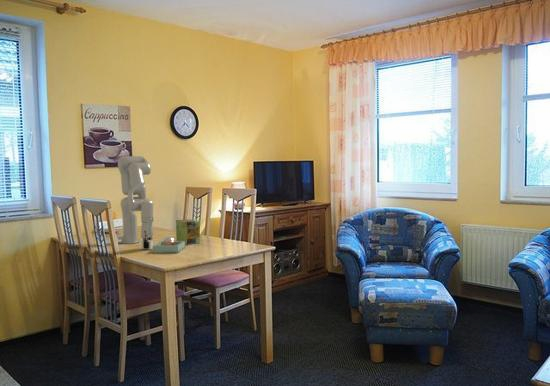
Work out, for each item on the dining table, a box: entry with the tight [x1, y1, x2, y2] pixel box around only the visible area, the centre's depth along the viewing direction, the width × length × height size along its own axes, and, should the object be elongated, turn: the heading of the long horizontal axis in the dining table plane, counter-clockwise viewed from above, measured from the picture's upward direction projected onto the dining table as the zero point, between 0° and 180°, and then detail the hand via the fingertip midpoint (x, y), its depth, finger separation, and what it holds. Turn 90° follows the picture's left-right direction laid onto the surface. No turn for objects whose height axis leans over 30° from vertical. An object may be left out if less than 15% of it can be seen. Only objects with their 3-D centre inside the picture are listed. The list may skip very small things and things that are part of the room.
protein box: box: [175, 218, 201, 246], centre depth 324 cm, size 10×15×16 cm
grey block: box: [140, 239, 154, 250], centre depth 302 cm, size 6×6×5 cm
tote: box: [152, 240, 186, 254], centre depth 297 cm, size 16×16×4 cm
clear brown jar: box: [163, 236, 175, 246], centre depth 297 cm, size 6×6×7 cm
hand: (147, 247), depth 303 cm, fingers closed on grey block, 6 cm apart
